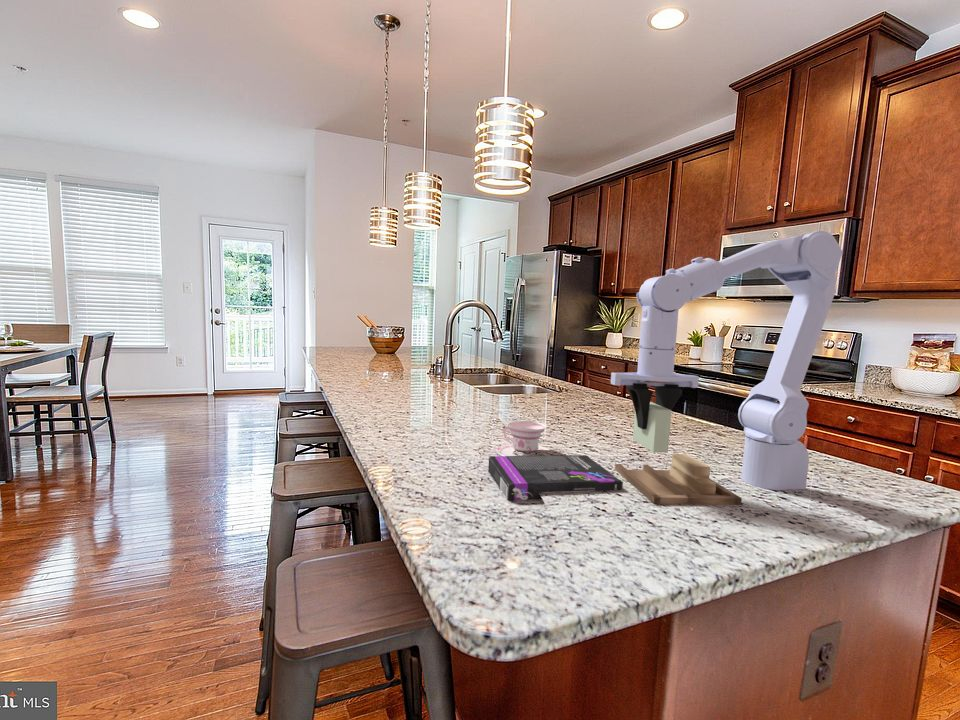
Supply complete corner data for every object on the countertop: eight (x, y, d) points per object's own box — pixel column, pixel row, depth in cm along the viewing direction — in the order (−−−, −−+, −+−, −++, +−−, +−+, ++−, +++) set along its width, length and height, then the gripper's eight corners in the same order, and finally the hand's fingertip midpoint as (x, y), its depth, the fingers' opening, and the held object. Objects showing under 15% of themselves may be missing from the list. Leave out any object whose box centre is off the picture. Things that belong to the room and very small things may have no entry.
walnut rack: (686, 475, 89) (687, 465, 89) (740, 510, 73) (741, 498, 73) (614, 474, 88) (615, 464, 88) (653, 510, 72) (654, 497, 72)
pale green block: (646, 439, 85) (649, 401, 85) (667, 452, 77) (671, 410, 77) (632, 439, 85) (635, 400, 84) (653, 452, 77) (656, 410, 76)
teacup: (555, 449, 104) (557, 421, 103) (550, 466, 92) (552, 434, 91) (501, 443, 106) (502, 416, 106) (490, 459, 95) (491, 428, 94)
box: (506, 506, 73) (623, 500, 77) (507, 484, 73) (624, 479, 77) (487, 474, 87) (587, 470, 91) (488, 455, 87) (588, 452, 90)
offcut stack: (684, 474, 86) (686, 453, 86) (716, 495, 77) (718, 471, 76) (668, 474, 86) (670, 453, 86) (698, 495, 76) (700, 471, 76)
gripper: (685, 348, 84) (679, 423, 86) (606, 345, 83) (601, 421, 84) (708, 351, 77) (701, 433, 79) (622, 348, 76) (616, 431, 77)
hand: (650, 428), depth 81 cm, fingers closed on pale green block, 2 cm apart
